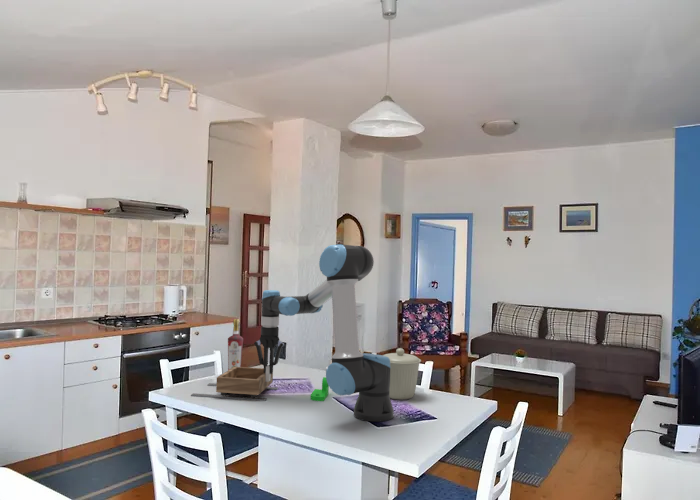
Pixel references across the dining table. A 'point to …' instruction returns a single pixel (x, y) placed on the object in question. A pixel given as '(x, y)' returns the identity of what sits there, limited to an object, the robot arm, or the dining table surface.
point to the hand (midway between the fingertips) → (267, 380)
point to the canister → (403, 374)
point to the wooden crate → (243, 381)
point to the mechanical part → (321, 391)
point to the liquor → (235, 347)
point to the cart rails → (232, 396)
